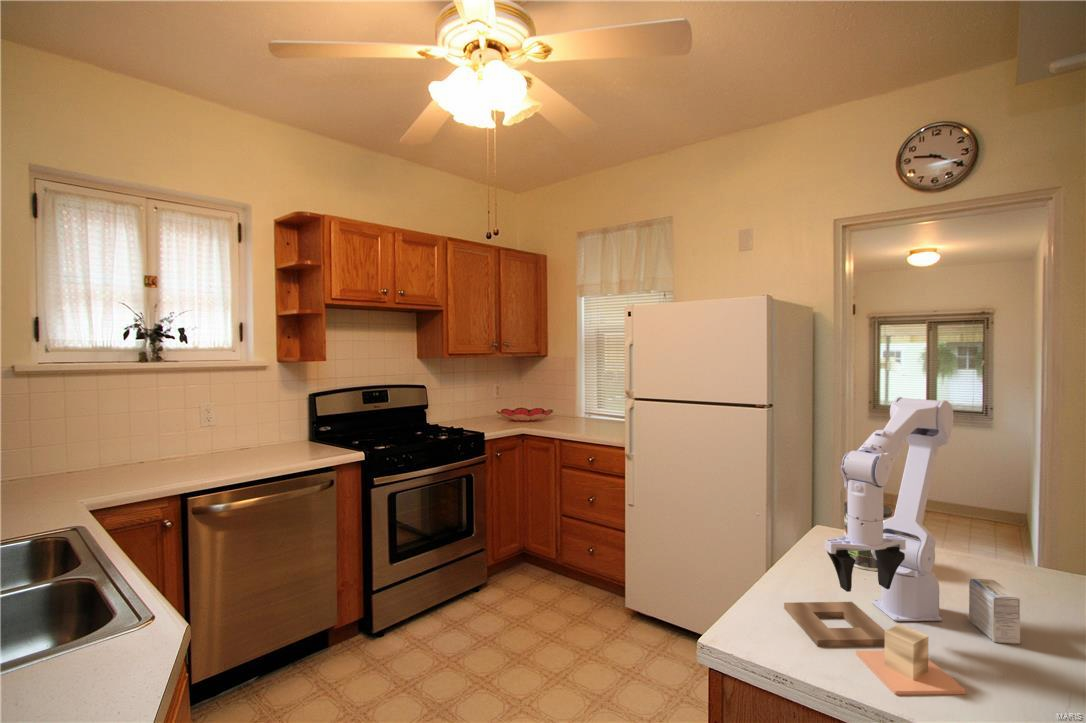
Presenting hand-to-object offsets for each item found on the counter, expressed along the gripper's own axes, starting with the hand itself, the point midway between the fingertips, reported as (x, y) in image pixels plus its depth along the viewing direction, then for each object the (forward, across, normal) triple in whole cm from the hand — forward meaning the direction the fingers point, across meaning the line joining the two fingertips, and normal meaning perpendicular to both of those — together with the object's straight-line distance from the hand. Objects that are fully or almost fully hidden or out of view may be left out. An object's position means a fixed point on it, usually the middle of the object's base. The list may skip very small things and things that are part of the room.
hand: (864, 588), depth 101 cm
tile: (+9, 0, +11) cm, 14 cm away
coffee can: (+10, -23, -31) cm, 40 cm away
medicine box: (+10, -25, +1) cm, 26 cm away
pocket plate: (+9, +3, -4) cm, 11 cm away
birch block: (+9, 0, +11) cm, 14 cm away
